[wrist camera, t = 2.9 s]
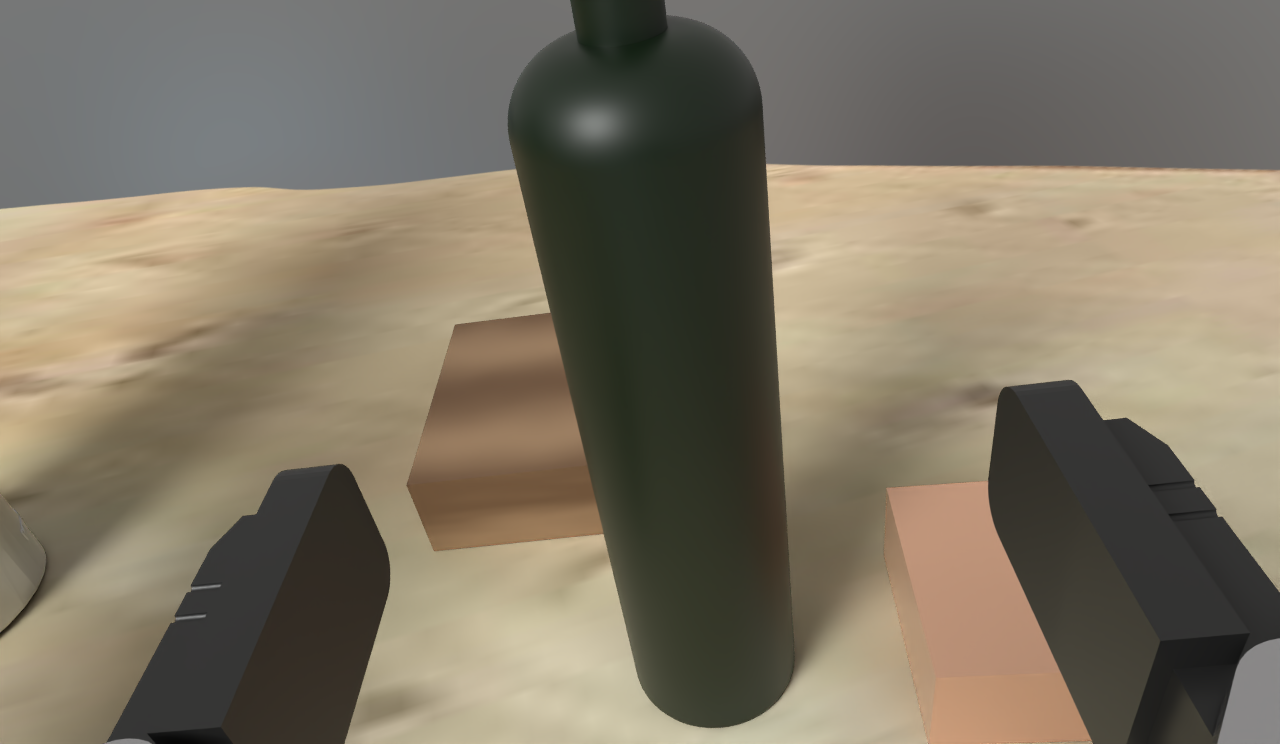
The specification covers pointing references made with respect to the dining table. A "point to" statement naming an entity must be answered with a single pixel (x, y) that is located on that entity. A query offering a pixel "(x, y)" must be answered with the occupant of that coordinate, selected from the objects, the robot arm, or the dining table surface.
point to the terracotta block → (970, 624)
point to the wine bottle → (668, 339)
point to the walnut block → (502, 442)
